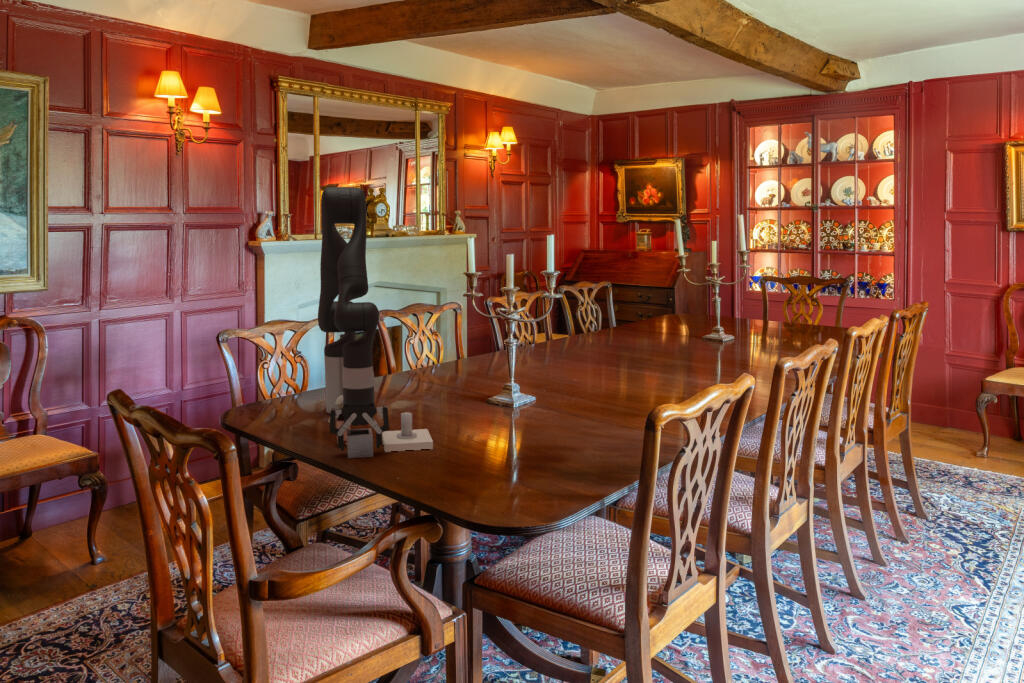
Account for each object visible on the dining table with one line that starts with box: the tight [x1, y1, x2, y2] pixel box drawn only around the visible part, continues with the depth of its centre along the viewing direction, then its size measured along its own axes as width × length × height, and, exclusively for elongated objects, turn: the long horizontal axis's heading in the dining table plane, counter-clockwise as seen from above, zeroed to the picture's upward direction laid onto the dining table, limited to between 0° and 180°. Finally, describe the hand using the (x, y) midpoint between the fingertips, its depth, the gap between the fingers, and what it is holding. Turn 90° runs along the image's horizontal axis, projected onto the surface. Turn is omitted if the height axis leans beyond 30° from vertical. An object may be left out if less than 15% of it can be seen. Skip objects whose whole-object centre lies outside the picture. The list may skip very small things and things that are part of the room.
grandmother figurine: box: [327, 395, 352, 446], centre depth 194 cm, size 8×4×13 cm, turn 92°
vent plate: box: [382, 411, 434, 453], centre depth 194 cm, size 12×12×8 cm
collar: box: [346, 427, 374, 459], centre depth 186 cm, size 6×6×6 cm
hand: (360, 448), depth 186 cm, fingers open, 8 cm apart
